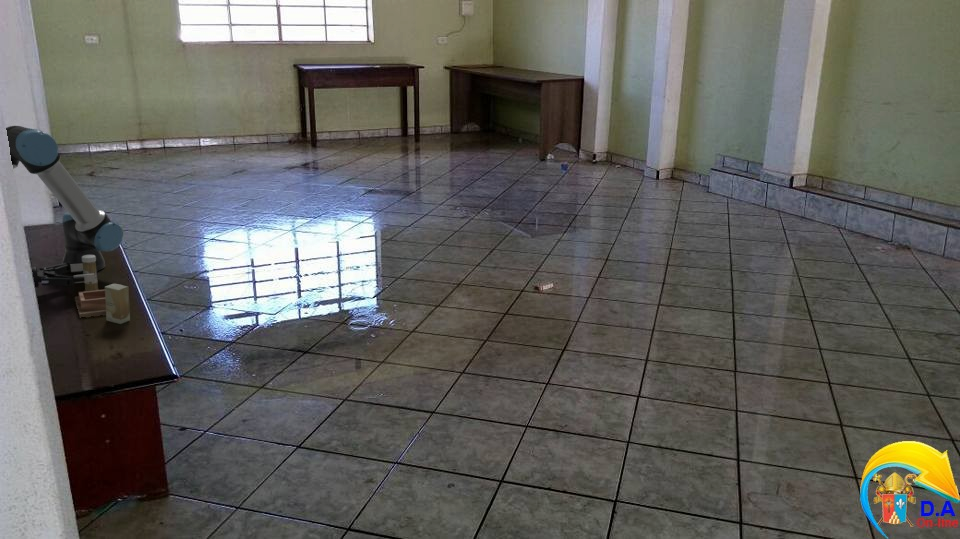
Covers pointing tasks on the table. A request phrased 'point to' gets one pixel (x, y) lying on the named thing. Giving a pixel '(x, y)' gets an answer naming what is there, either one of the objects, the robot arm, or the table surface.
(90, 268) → the sprinkles bottle
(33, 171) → the robot arm
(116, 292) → the skincare box
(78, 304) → the collar plate
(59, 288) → the table surface
